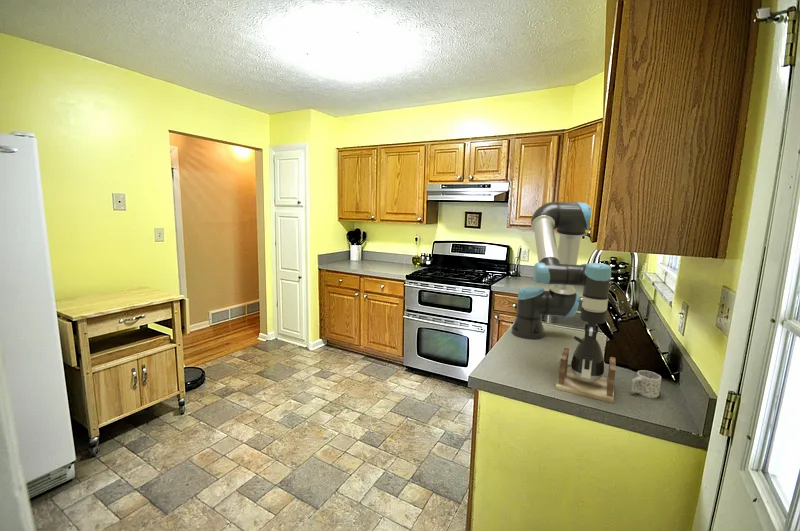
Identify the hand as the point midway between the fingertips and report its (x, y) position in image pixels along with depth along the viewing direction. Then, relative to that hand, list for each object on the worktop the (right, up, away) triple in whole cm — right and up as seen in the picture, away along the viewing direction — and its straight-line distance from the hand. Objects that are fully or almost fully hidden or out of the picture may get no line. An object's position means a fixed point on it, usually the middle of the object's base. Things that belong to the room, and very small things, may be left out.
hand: (586, 371), depth 123 cm
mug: (+17, -7, -3) cm, 19 cm away
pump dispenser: (0, -3, +1) cm, 3 cm away
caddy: (0, -5, +1) cm, 5 cm away
